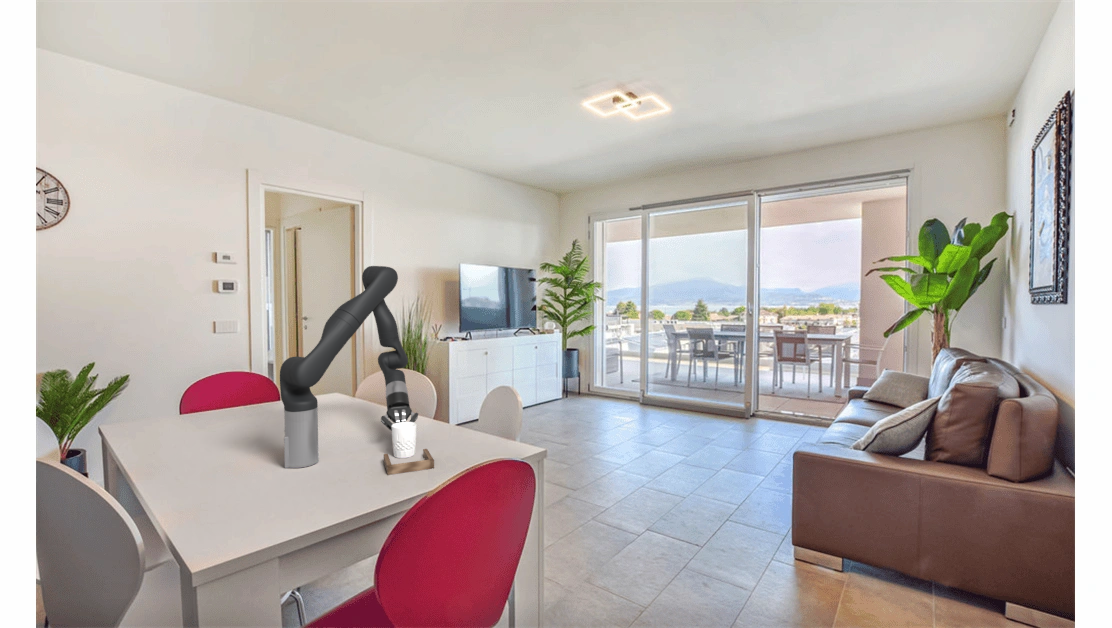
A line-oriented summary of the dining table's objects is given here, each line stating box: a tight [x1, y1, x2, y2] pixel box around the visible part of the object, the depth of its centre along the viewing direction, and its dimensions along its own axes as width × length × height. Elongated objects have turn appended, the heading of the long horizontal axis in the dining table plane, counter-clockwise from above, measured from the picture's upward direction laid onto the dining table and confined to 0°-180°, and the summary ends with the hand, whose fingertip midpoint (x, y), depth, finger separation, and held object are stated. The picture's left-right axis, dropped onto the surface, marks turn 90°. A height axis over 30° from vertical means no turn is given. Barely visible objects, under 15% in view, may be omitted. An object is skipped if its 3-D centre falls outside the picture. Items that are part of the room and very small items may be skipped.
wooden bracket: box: [383, 448, 435, 476], centre depth 153 cm, size 13×12×2 cm
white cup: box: [391, 421, 418, 459], centre depth 162 cm, size 8×8×10 cm
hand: (402, 440), depth 166 cm, fingers closed
